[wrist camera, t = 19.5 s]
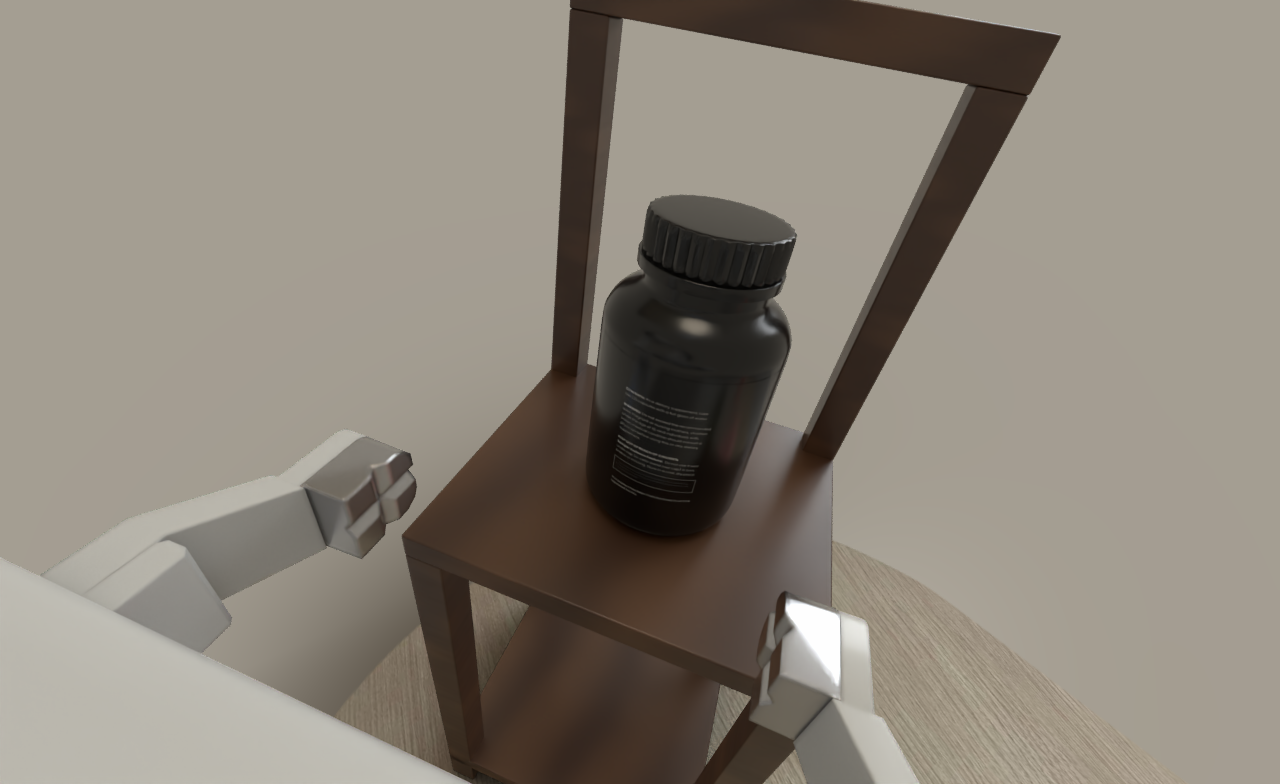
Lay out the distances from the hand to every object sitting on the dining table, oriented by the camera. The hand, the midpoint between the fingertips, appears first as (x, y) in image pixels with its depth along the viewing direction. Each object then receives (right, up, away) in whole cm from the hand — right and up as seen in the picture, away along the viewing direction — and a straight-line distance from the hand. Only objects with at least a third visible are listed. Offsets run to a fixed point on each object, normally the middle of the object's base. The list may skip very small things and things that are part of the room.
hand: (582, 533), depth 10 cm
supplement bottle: (+2, -1, +12) cm, 13 cm away
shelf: (-2, -22, +28) cm, 35 cm away
